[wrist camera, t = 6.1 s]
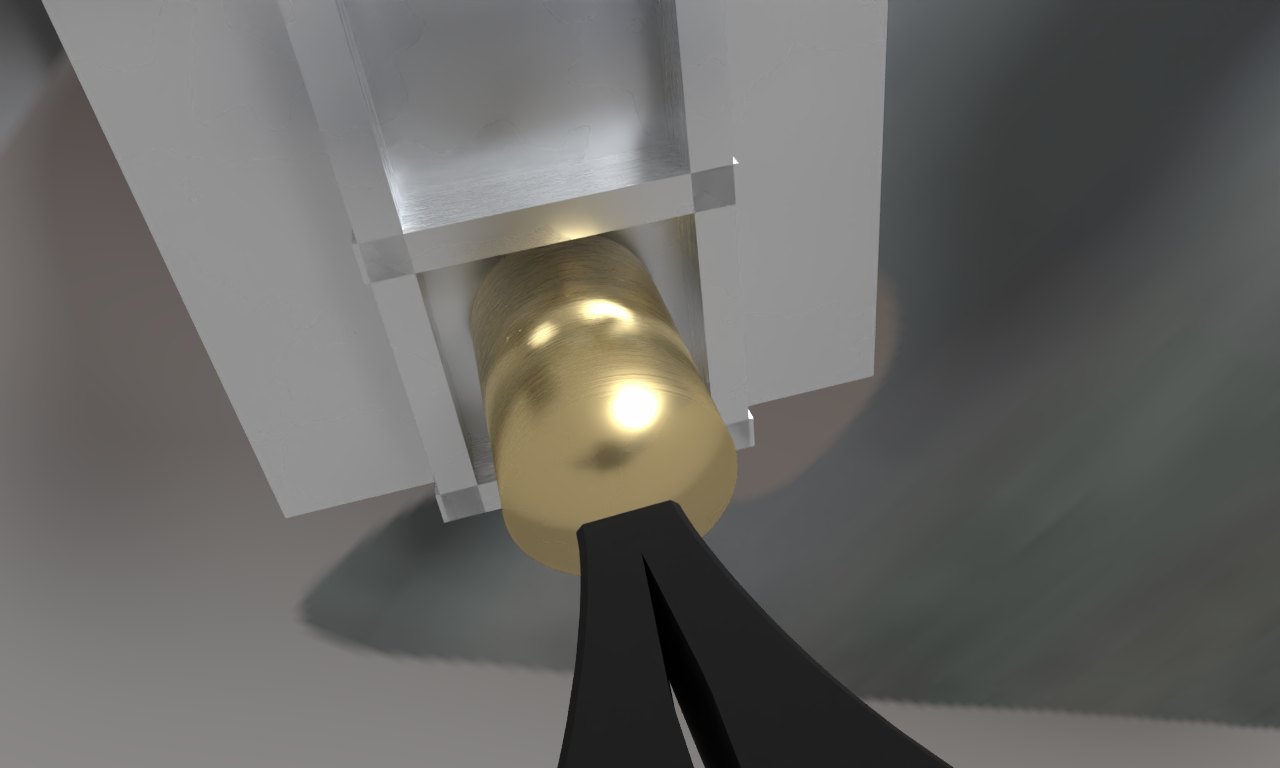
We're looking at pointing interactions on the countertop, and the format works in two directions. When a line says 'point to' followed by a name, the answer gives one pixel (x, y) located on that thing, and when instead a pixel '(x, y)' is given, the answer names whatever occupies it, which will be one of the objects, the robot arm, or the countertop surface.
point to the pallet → (486, 199)
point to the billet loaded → (591, 398)
